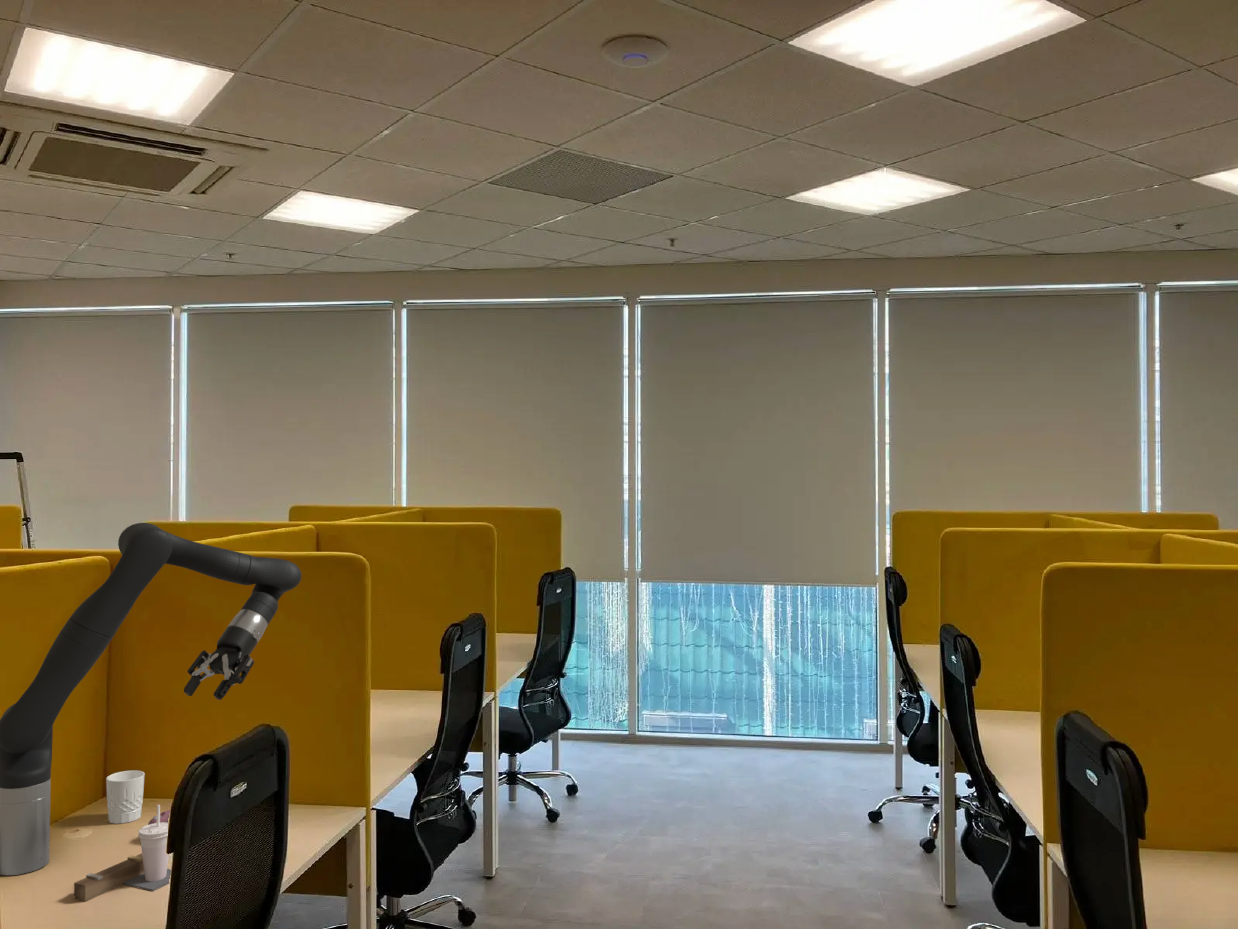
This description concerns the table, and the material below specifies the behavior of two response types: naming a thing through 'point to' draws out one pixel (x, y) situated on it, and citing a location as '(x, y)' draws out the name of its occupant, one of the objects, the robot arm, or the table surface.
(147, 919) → the table surface
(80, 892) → the guide rail
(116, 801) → the white cup
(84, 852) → the table surface
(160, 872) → the smoothie
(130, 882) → the end pad
